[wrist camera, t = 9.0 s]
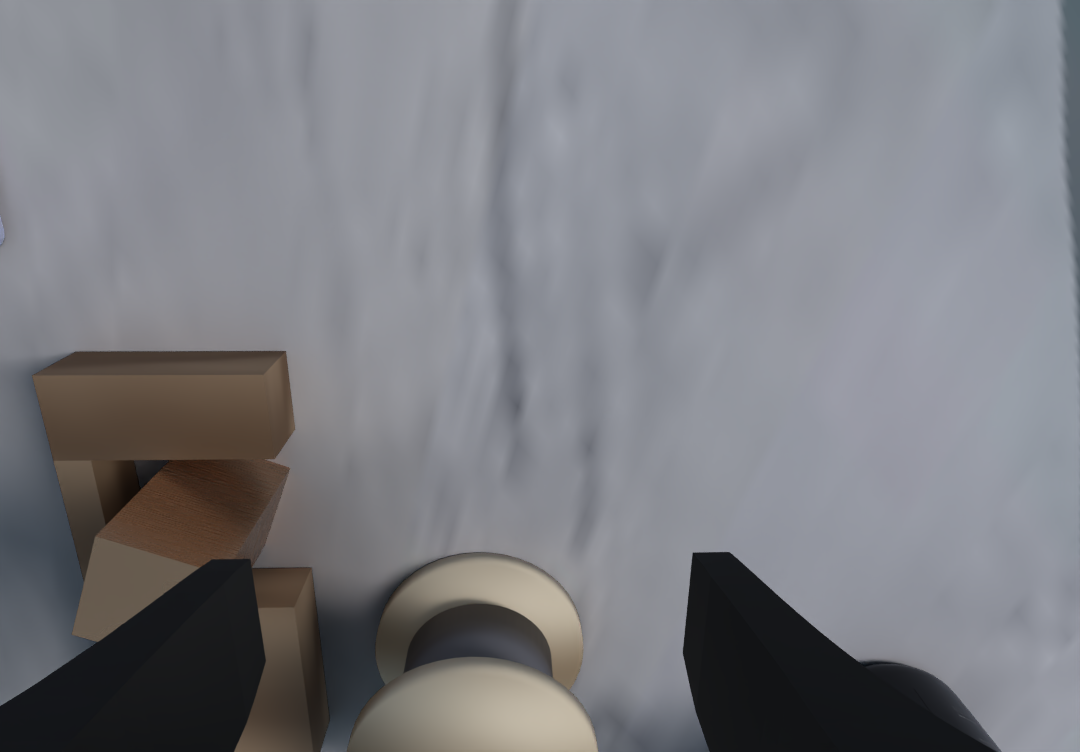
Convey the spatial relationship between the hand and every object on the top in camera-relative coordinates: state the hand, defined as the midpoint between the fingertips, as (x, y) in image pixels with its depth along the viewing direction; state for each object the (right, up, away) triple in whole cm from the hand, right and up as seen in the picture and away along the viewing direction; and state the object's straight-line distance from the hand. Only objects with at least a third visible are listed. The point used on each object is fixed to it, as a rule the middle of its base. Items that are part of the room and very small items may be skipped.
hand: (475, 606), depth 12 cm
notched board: (-9, -2, +11) cm, 15 cm away
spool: (-1, -5, +13) cm, 14 cm away
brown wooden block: (-9, 0, +11) cm, 14 cm away
